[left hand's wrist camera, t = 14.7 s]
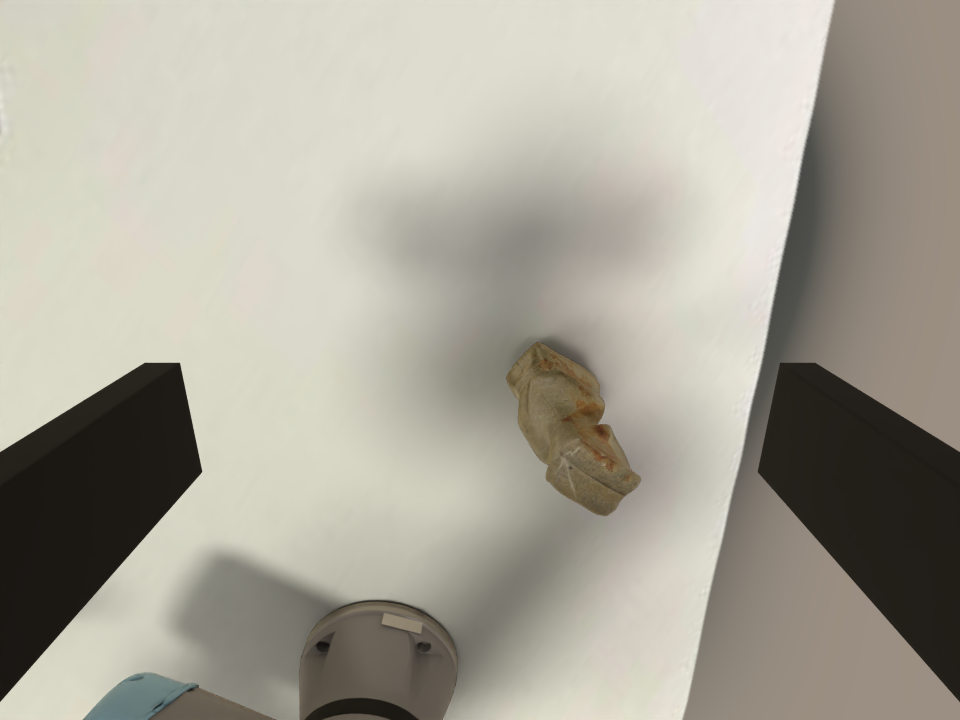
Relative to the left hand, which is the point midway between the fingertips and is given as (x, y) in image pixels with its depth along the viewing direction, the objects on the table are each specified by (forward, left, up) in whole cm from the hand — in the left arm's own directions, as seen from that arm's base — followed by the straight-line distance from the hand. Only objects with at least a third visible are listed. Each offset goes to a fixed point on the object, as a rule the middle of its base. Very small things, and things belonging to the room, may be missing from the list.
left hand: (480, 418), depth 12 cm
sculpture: (-11, -6, -30) cm, 32 cm away
